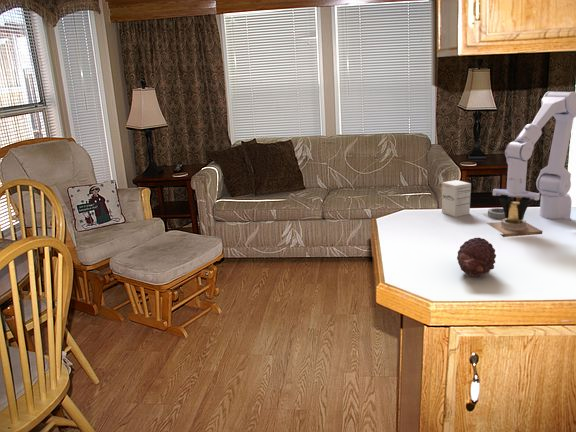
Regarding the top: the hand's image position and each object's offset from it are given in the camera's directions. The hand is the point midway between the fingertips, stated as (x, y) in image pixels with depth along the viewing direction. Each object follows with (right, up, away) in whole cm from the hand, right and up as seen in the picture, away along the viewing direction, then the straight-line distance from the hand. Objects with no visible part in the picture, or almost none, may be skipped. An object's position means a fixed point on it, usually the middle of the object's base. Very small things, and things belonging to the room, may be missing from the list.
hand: (514, 218), depth 184 cm
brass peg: (0, -3, +1) cm, 3 cm away
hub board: (0, -4, +1) cm, 4 cm away
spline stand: (0, 0, +14) cm, 14 cm away
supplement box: (-13, +1, +21) cm, 25 cm away
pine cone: (-24, -15, -34) cm, 44 cm away
